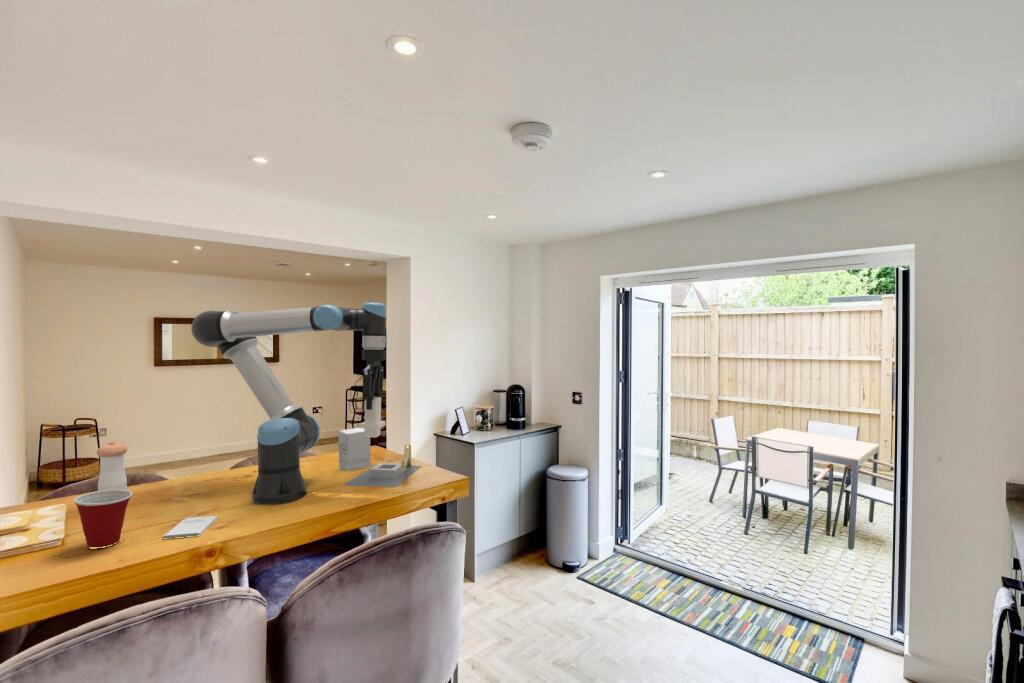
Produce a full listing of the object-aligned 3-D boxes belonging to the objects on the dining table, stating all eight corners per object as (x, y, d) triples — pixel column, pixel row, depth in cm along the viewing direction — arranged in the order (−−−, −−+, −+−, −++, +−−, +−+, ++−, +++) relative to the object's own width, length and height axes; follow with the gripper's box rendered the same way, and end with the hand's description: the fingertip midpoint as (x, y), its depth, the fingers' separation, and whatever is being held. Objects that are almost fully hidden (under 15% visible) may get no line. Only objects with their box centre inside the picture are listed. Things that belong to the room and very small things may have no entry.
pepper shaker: (116, 510, 141) (116, 443, 141) (90, 511, 141) (89, 444, 141) (134, 501, 148) (133, 438, 148) (109, 502, 148) (108, 439, 148)
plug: (359, 437, 163) (360, 398, 163) (367, 433, 169) (367, 396, 169) (378, 438, 162) (378, 398, 162) (385, 434, 168) (385, 396, 168)
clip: (399, 484, 157) (399, 461, 157) (404, 464, 182) (404, 445, 182) (406, 484, 158) (406, 461, 158) (411, 464, 183) (411, 444, 183)
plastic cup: (112, 553, 112) (111, 501, 112) (61, 555, 111) (61, 503, 111) (144, 534, 123) (143, 487, 123) (98, 536, 122) (97, 488, 122)
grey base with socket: (342, 489, 159) (342, 476, 159) (376, 468, 184) (375, 456, 184) (395, 492, 156) (395, 477, 156) (422, 470, 182) (422, 458, 182)
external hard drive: (162, 542, 120) (184, 523, 132) (199, 539, 122) (218, 520, 134) (162, 535, 120) (184, 517, 132) (199, 532, 122) (218, 514, 134)
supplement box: (361, 465, 189) (361, 427, 189) (371, 470, 182) (371, 430, 182) (338, 470, 183) (337, 429, 183) (347, 475, 176) (346, 433, 176)
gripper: (375, 349, 157) (373, 422, 157) (393, 348, 174) (392, 414, 174) (352, 348, 157) (351, 421, 157) (373, 348, 174) (371, 413, 174)
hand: (372, 417), depth 166 cm, fingers closed on plug, 4 cm apart
